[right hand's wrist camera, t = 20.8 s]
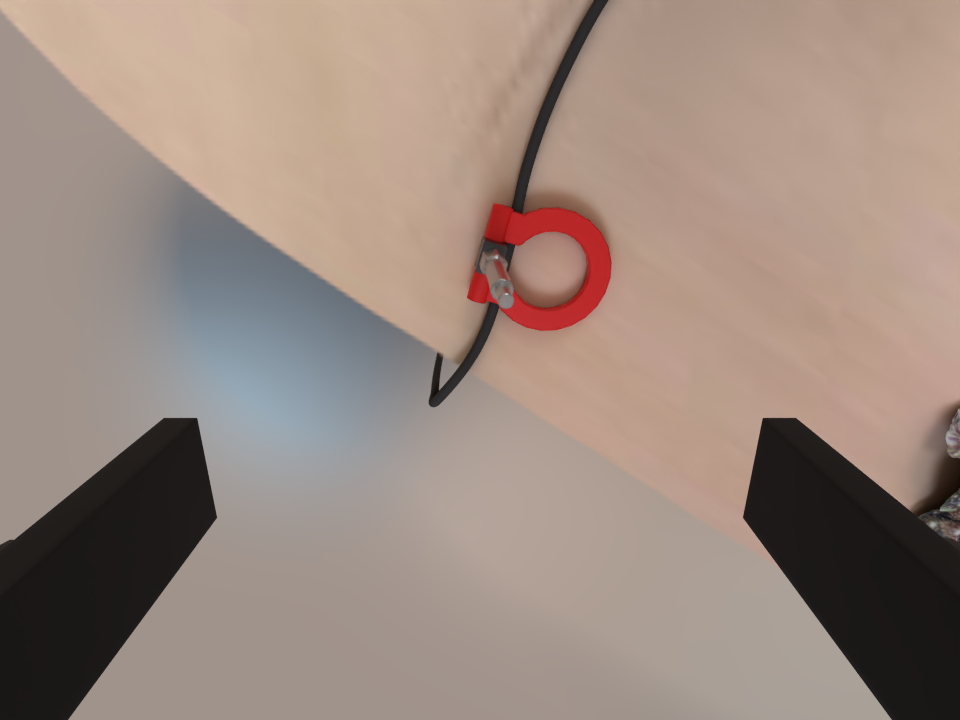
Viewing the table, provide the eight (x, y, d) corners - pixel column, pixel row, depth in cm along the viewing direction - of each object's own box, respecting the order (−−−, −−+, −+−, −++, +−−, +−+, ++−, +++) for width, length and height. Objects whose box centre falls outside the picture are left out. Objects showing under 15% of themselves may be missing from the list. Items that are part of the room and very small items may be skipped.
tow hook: (624, 226, 37) (495, 187, 36) (706, 263, 25) (516, 207, 24) (582, 338, 40) (461, 306, 39) (638, 419, 28) (465, 377, 27)
